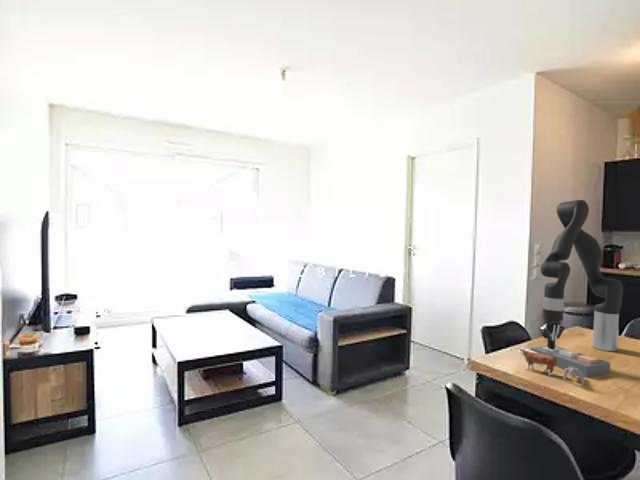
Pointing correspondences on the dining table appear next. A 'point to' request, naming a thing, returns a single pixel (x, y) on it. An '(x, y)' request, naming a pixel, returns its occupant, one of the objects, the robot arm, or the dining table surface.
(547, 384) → the dining table surface
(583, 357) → the terracotta button
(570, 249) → the robot arm
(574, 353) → the cream button
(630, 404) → the dining table surface
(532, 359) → the bull figurine
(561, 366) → the button panel
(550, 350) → the sage button
